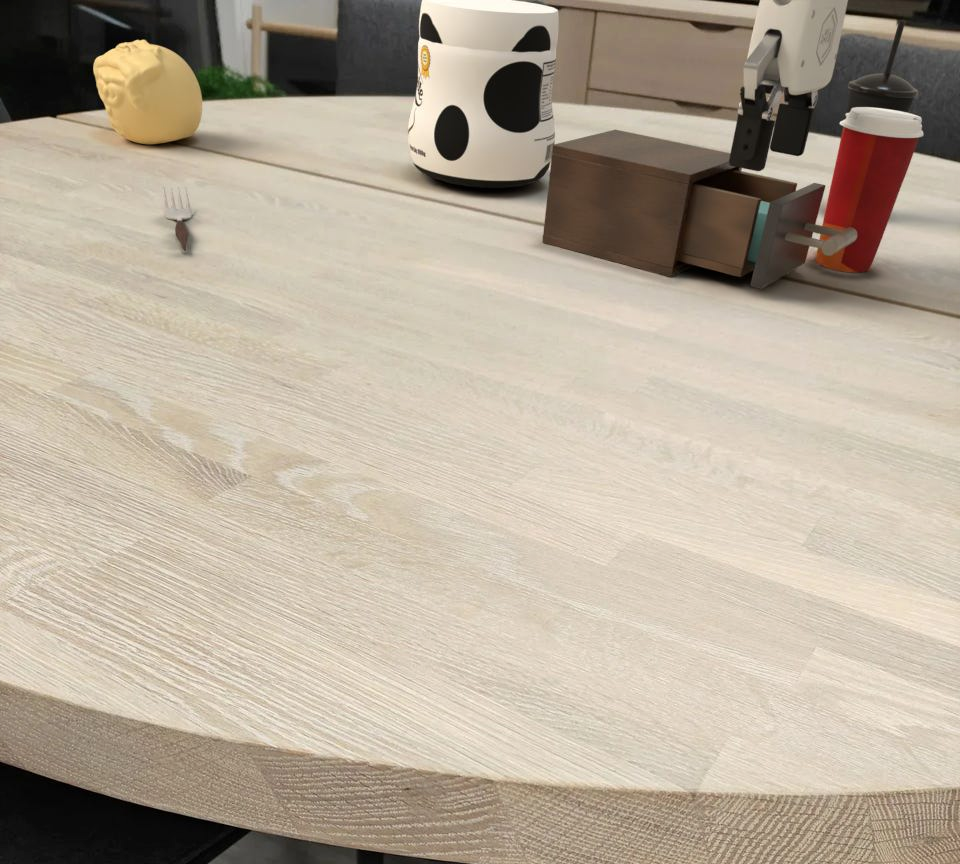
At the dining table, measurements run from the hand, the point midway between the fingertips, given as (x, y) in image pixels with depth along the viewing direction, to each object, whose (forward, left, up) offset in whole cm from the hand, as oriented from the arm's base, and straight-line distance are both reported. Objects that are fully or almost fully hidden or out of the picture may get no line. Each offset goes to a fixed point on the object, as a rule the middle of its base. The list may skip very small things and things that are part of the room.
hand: (766, 160), depth 91 cm
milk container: (+28, -28, -11) cm, 41 cm away
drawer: (0, 0, -9) cm, 9 cm away
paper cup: (-11, -7, -11) cm, 17 cm away
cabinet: (+10, -6, -10) cm, 16 cm away
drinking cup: (-17, -30, -11) cm, 36 cm away
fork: (+54, +4, -11) cm, 55 cm away
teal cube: (0, 0, -8) cm, 8 cm away
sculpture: (+69, -32, -11) cm, 77 cm away
